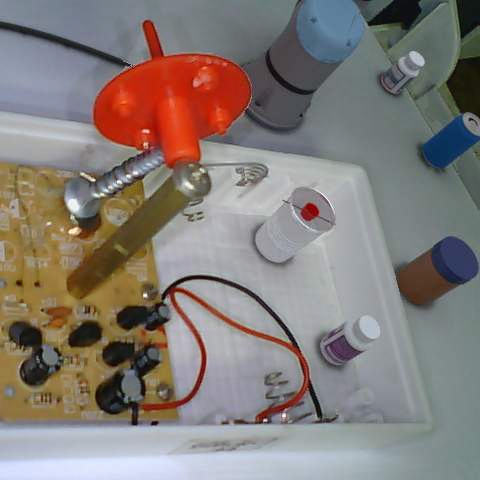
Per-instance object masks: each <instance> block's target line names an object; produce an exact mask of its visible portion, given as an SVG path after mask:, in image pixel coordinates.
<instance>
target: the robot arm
mask: <svg viewBox="0 0 480 480" xmlns="http://www.w3.org/2000/svg"><path fill="white" fill-rule="evenodd" d="M372 2H373V0H297V1H296V3H295V5H294V8H293V11H292V13H291V16H290V19H289V21H288V23H286V24H287V25H286V26H285V28H283V30H282V31H281V33H280V34H279V35H278V37H276V39H275V40H274V42H273V43H272V44H271V45H270V47H269V48H268V49H267V50H266V51H264V52H263V53H261V54H259V55H258V56H257V57H255V58H254V59H251V60H249V61H247V62H246V63H244V64H243V65H242V66H241V68H242V69H243V70H244V71H245V72H246V74H247V75H248V77H249V79H250V82H251V84H252V99H251V102H250V104H249V106H248V108H247V109H246V110H244V111H245V113H246V114H248V116H249V117H251V119H253V120H254V121H256V122H257V123H258V124H260V125H261V126H264V127H266V128H269V129H271V130H276V131H290V130H292V129H294V128H295V127H297V126H298V125H299V123H300V122H302V121H303V119H304V117H305V116H306V114H307V111H308V109H310V107H311V104H312V103H311V102H312V99H313V97H314V94H315V93H316V91H317V90H318V89H319V88H321V86H322V85H323V84H324V83H325V82H326V80H327V79H329V78H330V77H331V75H333V73H334V72H335V71H336V70H337V69H338V68H339V67H340V66H341V65H342V64H343V63H344V62H345V60H347V59H348V58H349V57H350V56H352V54H353V53H354V52H355V51H356V49H357V48H358V46H359V44H360V43H361V42H362V40H363V38H364V36H365V31H366V23H365V20H364V17H363V16H362V15H361V14H362V13H363V12H364V11H365V9H366V8H367V7H369V5H370V4H371V3H372ZM0 28H4V29H10V30H14V31H18V32H22V33H27V34H30V35H34V36H39V37H41V38H45V39H48V40H51V41H55V42H58V43H61V44H64V45H67V46H70V47H73V48H76V49H79V50H82V51H84V52H87V53H90V54H93V55H96V56H98V57H101V58H104V59H106V60H109V61H112V62H113V63H117V64H120V65H123V66H124V67H125V66H126V67H127V68H130V67H131V66H130V65H131V64H128V63H126V62H123V60H124V59H123V60H121V59H122V58H121V57H118V56H115V55H112V54H110V53H107V52H104V51H102V50H99V49H96V48H93V47H91V46H87V45H85V44H83V43H79V42H77V41H73V40H71V39H68V38H64V37H61V36H59V35H55V34H52V33H49V32H46V31H42V30H38V29H34V28H31V27H27V26H23V25H20V24H15V23H11V22H5V21H2V20H0ZM129 66H130V67H129ZM132 66H133V65H132ZM241 68H240V69H241Z"/></svg>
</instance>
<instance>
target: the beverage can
mask: <svg viewBox="0 0 480 480" xmlns="http://www.w3.org/2000/svg"><path fill="white" fill-rule="evenodd" d="M479 142H480V118H479V117H478V116H477V115H475V114H474V113H472V112H468V111H467V112H464V113H462V114H459V115H457V116H456V117H455V118H454V119H452V120H451V121H450V122H449V123H448V124H447V125H445V126H444V127H443V128H441V129H440V130H439V131H437V133H436V134H434V135H433V136H432V137H431V138H429V140H427V141H426V142H425V143H424V144H423V145H422V156H423V158H424V160H425V161H426V162H427V164H429V165H430V166H431V167H434V168H436V169H445V168H446V167H447V166H448V165H450V164H451V163H453V162H454V161H455V160H457V159H459V157H460V156H462V155H463V154H465V153H466V152H467V151H468V150H470V149H471V148H472V147H473V146H474V145H476V144H477V143H479Z"/></svg>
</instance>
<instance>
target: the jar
mask: <svg viewBox="0 0 480 480" xmlns="http://www.w3.org/2000/svg"><path fill="white" fill-rule="evenodd" d="M432 248H433V246H432V247H431V248H429V249H427V250H426V251H425V252H423V253H422V254H420V255H419V256H417V257H416V258H414V259H412V260H411V261H410V262H408V263H407V264H405V265H403V266H402V267H401V268H400V269H399V270H398V272H397V274H396V281H397V282H396V283H397V286H398V289H399V290H400V292H401V294H402V295H403V297H405V298H406V299H407V301H409V302H410V303H411V304H413V305H416V306H417V307H418V306H419V307H425V306H428V305H430V304H431V303H433V302H435V301H436V300H438V299H440V298H441V297H443V296H445V295H446V294H448V293H450V292H451V291H453V290H455V289H457V288H458V287H460V286H461V285H456V284H453V283H451V282H449V281H447V280H446V279H445V278H444V277H442V276H441V274H440V273H439V272H438V271H437V269H436V267H435V266H434V263H433V260H432V255H431V252H432Z"/></svg>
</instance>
